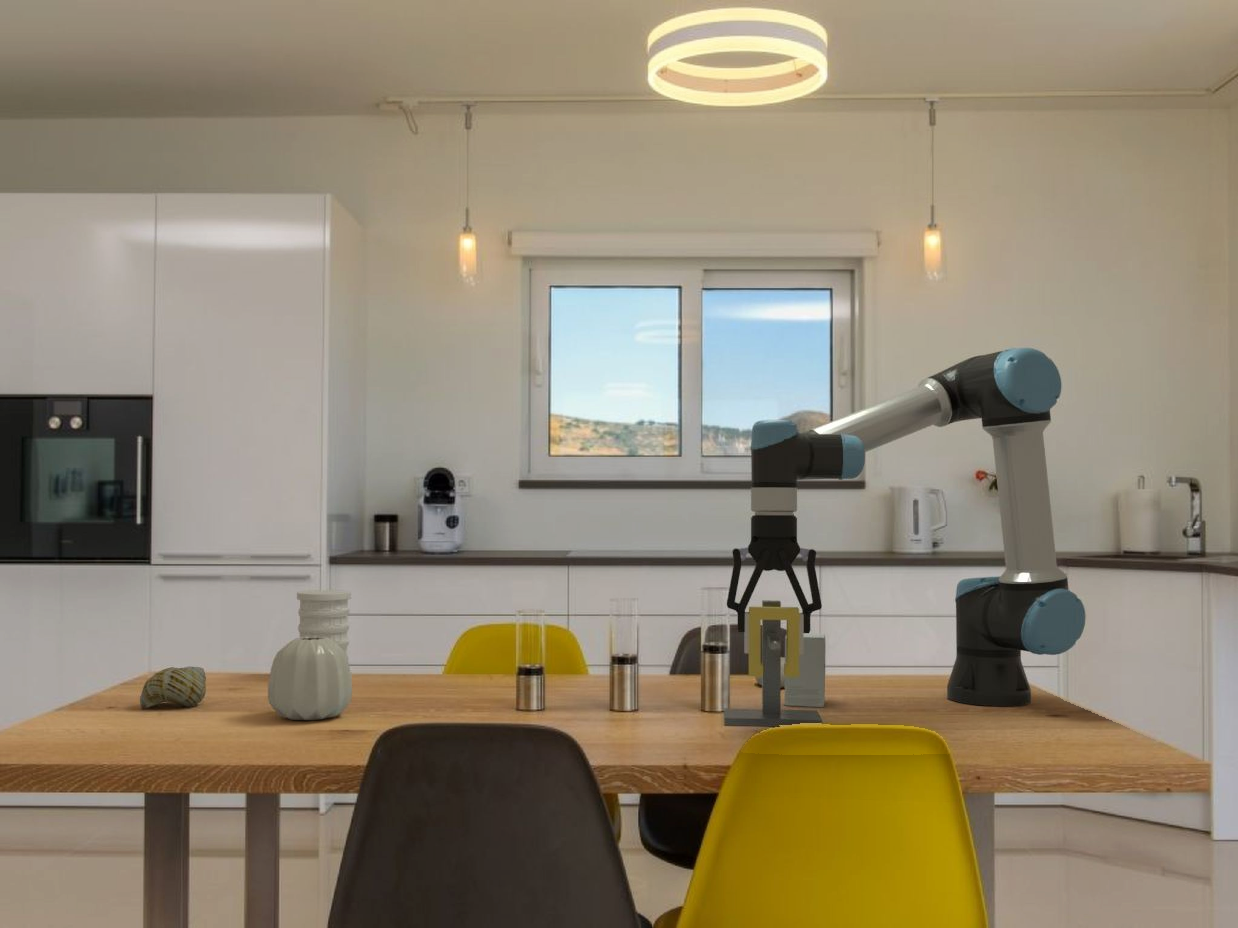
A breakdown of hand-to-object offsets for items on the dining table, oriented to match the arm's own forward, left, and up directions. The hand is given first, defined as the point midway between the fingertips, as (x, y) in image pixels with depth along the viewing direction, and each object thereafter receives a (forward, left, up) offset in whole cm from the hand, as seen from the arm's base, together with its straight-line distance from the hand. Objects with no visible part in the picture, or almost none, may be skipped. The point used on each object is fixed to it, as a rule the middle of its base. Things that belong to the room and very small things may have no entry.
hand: (773, 652), depth 186 cm
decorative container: (+90, -41, -13) cm, 99 cm away
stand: (0, -3, -12) cm, 13 cm away
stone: (-4, -46, -13) cm, 48 cm away
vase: (+78, -1, -13) cm, 79 cm away
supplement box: (-7, -25, -13) cm, 29 cm away
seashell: (+105, -8, -13) cm, 106 cm away
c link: (0, 0, -4) cm, 4 cm away
